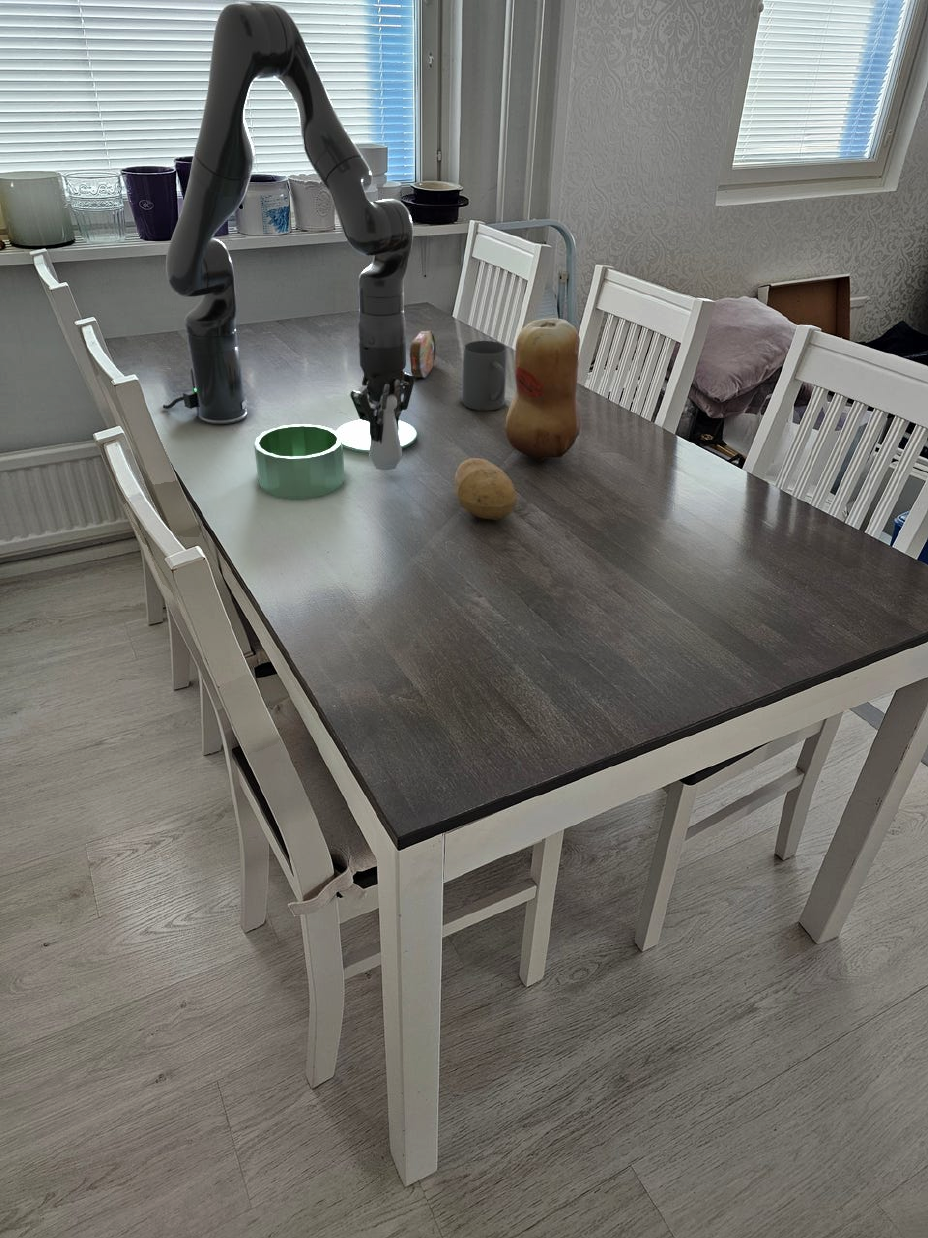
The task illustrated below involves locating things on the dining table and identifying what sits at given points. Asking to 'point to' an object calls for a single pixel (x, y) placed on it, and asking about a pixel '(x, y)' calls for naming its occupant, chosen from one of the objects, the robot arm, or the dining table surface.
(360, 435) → the pot lid
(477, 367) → the mug
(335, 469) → the pot
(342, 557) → the dining table surface
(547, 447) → the butternut squash
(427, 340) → the tin
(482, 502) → the potato
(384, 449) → the salt shaker
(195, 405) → the robot arm
